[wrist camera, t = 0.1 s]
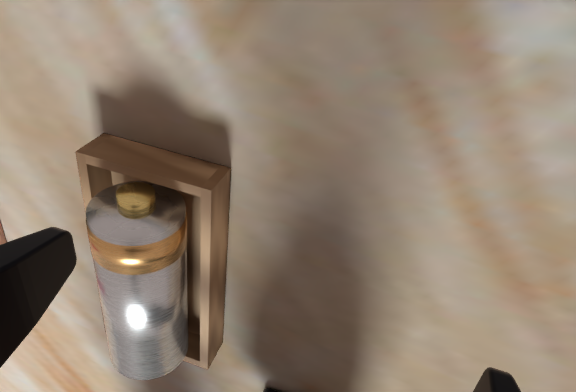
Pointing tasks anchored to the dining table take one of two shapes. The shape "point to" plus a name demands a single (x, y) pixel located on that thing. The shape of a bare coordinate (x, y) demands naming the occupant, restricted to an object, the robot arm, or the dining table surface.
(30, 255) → the robot arm
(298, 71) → the dining table surface
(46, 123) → the dining table surface
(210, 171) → the trough
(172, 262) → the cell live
